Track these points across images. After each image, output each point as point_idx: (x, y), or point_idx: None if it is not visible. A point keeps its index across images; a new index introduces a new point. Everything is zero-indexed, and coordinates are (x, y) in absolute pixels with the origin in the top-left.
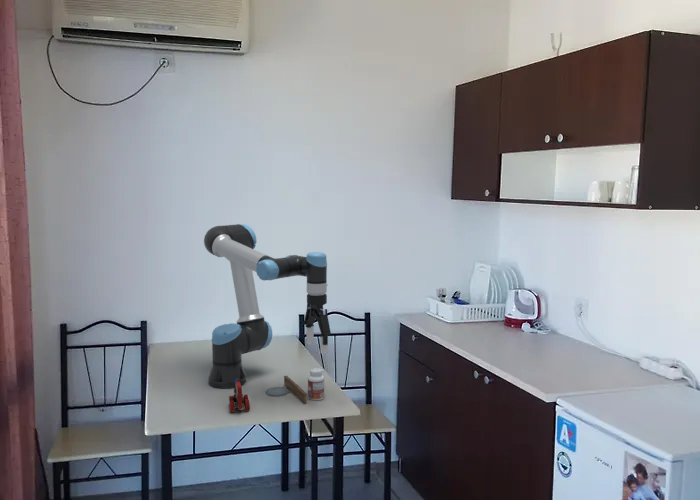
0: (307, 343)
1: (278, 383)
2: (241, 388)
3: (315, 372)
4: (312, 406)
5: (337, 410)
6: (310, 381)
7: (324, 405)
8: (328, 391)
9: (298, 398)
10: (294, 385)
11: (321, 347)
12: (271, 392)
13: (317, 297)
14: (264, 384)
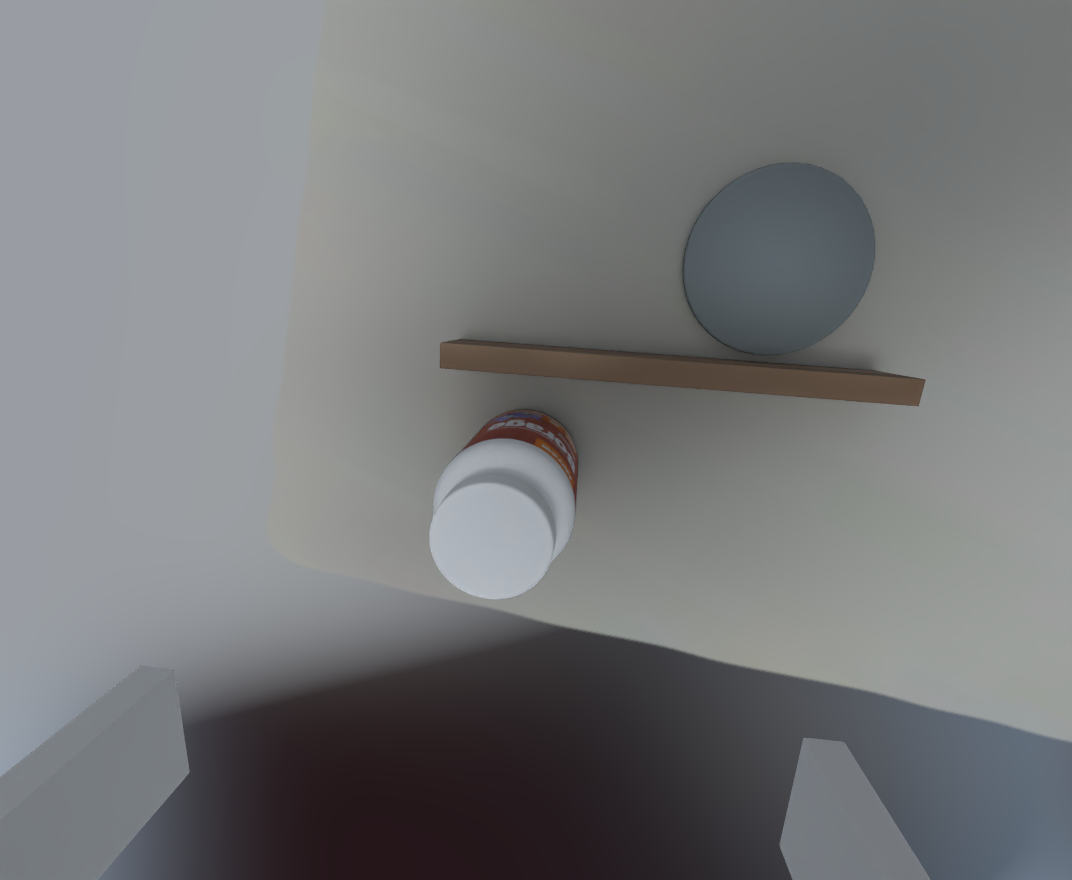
0: (815, 762)
1: (949, 352)
2: None
3: (437, 508)
4: (400, 373)
5: (285, 474)
6: (479, 441)
7: (385, 446)
8: (592, 578)
9: (560, 347)
10: (650, 358)
11: (19, 765)
12: (768, 202)
13: None
14: (1006, 237)
